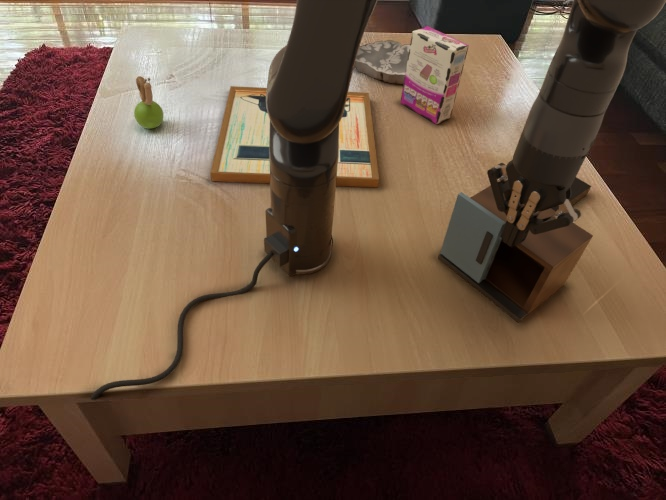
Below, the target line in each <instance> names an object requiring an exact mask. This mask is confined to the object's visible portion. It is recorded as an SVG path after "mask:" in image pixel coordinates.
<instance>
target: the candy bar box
mask: <svg viewBox="0 0 666 500" xmlns="http://www.w3.org/2000/svg"><path fill="white" fill-rule="evenodd" d="M409 44H410V49H409V55H408V61H407V67H406V72H405V78H404V84H402V89H401V90H402V91H401V96H400V101H399V102H400V104H401V105H403V106H404V107H406V108H408V109H410V110H411V111H413V112H414V113H416V114H418V115H420V116H422V117H423V118H424V119H427V120H429V122H432V123H434V124H436V125H439V124H441V123H444V122H445V121H447V120H450V119H451V117H452V114H453V110H454V106H455V101H456V98H457V94H458V90H459V86H460V82H461V78H462V74H463V70H464V66H465V63H466V58H467V54H468V52H469V51H468V50H469V47H470V45H469V44H467V43H465V42H463V41H461V40H458V39H457V38H454V37H452V36H450V35H448V34H445V33H443V32H441V31H439V30H437V29H435V28H432V27H430V26H428V25H426V26H423V27H420V28H418V29H415V30H413V31H412V32H411V38H410V43H409Z"/></svg>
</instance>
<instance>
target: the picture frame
mask: <svg viewBox="0 0 666 500" xmlns="http://www.w3.org/2000/svg"><path fill="white" fill-rule="evenodd" d="M229 87H230V88H229V91H228V96H227V99H226V103H225V104H226V105H225V108H224V113H223V116H222V121H221V126H220V130H219V134H218V138H217V142H216V146H215V151H214V156H213V160H212V164H211V168H210V172H209V173H210V180H211V182H225V183H228V182H229V183H250V184H251V183H253V184H270V164H269V135H270V119H269V115H268V112H267V108H266V91H267V87H256V86H235V85H230V86H229ZM371 108H372V107H371V99H370V93H369V92H360V91H348V95H347V100H346V104H345V109H344V113H343V116H342V118H341V120H340V122H339V157H338V168H337V180H336V187H356V188H358V187H359V188H379V184H380V176H379V175H380V174H379V166H378V158H377V151H376V141H375V134H374V124H373V116H372V109H371Z"/></svg>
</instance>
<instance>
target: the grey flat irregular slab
mask: <svg viewBox="0 0 666 500" xmlns="http://www.w3.org/2000/svg"><path fill="white" fill-rule="evenodd" d="M409 49H410V43H407V44H402V43H401V42H399V41H395V40H393V39H392V40H391V39H390V40H389V39H388V40H387V39H386V40H377V41H374V42H371V43H369V42H368V43H366V44H363V45H360V46H359V50H358V54H357V57H356V61H355V65H354V68H356V70H357V71H359V72H360V73H362V74H364V75H366V76H368V77H370V78H372V79H375V80H379V81H383V82H384V83H387V84H396V85H403V84H404V78H405V72H406V67H407V61H408V55H409Z"/></svg>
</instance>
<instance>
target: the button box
mask: <svg viewBox="0 0 666 500" xmlns="http://www.w3.org/2000/svg"><path fill="white" fill-rule="evenodd" d="M591 188H592V185H591V184H588V183H587V182H585V181H584V180H582V179H580V178H578V176H576V178H575V180H574V181H573V183H572V185H571V197H570V199H569V202H570V204H571V206H572V207H573V205H575V204H576V203H578V202H579V201H580V200H582V199H583V198H585V197H586V196H587V195H588V194H589V192H590V190H591ZM551 209H553V210H554V211H557V210H558V209H559V205H558V206H556V207H553V208H551Z"/></svg>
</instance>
